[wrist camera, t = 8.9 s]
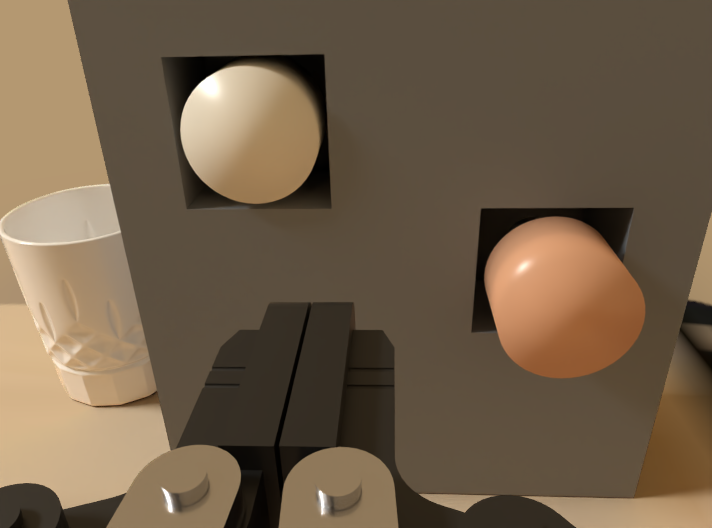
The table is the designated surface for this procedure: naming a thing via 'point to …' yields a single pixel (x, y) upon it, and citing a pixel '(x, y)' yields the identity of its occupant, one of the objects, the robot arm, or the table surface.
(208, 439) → the robot arm
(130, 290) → the white cup
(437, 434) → the button console
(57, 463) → the table surface
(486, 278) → the terracotta button
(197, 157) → the cream button
